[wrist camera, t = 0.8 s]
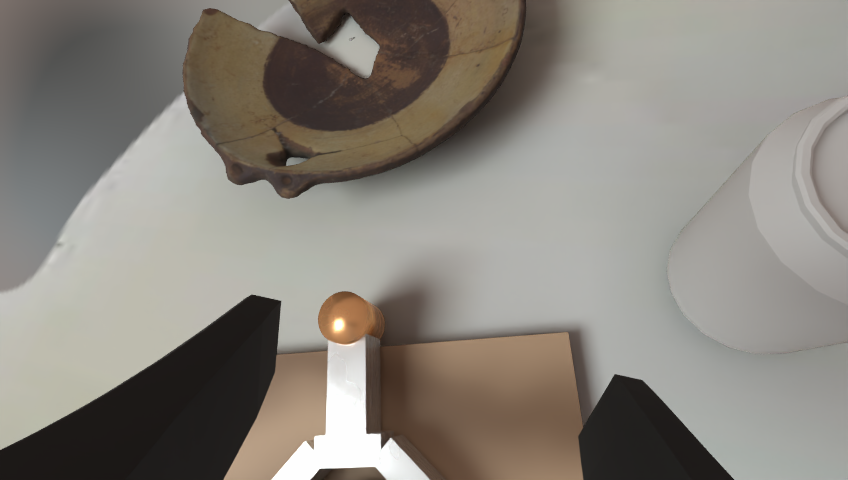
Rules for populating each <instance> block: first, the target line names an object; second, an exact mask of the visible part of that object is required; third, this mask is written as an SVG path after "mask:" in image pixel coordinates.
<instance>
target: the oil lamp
mask: <svg viewBox="0 0 848 480" xmlns="http://www.w3.org/2000/svg"><path fill="white" fill-rule="evenodd" d="M289 1H290V3H291V4H292V6H293V8H294V9H295V11H296V12H297V13H298V14H299V15H300V17H301V19H302V21H303V23H304V24H305V26H306V28H307V30H308V31H309V32H310V33H311V35H312V36H313V38H314V39H315V40H316V41H317V43H318V44H320V43H322V42H325V41H326V40H327V38H328V37H329V36H330V35H331V34H333V33H334V30H335V29H336V28H337V27H338V26H339V25H340V23H341V18H342V16H343V14H345V13H349V14H350V15H351V16H352V17H353V19H354V20H355V21H356V23H357V24H359V25H360V27H361V28H362V29H363V31H364V32H365V34H367V35H369V36H370V37H371V39H372V38H373V39H374V40H375V41H376V42H377V43H378V44H379V46H380V49H379V51H378V54H377V56H376V60H375V61H374V66H373V70H372V73H371V76H370V77H369V78H367V79H364V78H360V77H359V76H356V75H355V74H353V73H352V72H351V71H350V69H348V68H346V67H344V66H342V64H339V63H337V62H336V61H335V60H334V59H333V58H330V57H328V56H326V55H324V54H323V53H321V52H319V51H317V50H316V49H313V48H309V47H308V46H307V45H303V44H301V43H298V42H295V41H293V40H290V39H288V38H284V37H281V36H277V35H275V34H273V33H271V32H266V31H261V30H258V29H257V28H255V27H254V26H252V25H251V24H248V23H245V22H242V21H238V20H237V19H235V18H232V17H231V16H229V15H227V14H225V13H223V12H221V11H219V10H217V9H211V8H209V9H205V10H203V12H202V15H201V17H200V20H199V22H198V23H197V25H196V26H195V27H194V28H193V33H192V34H191V36H190V38H189V42H188V48H187V49H188V50H187V53H186V57H185V61H184V63H183V82H184V93H185V96H186V99H187V104H188V108H189V110H190V112H191V113H190V114H191V115H192V117H193V119H194V121H195V123H196V125H197V126H198V128H199V129H200V130H201V134H202V136H203V137H204V138H205V139H206V140H207V141H208V143H209V144H210V145H211V146H212V147H213V148H214V149H215V151H216V152H217V153H218V154H219V155H220V156H221V158H222V160H223V162H224V164H225V166H226V173H227V177H228V179H229V180H230V181H231V182H233V183H235V184H237V185H244V184H247V183H253V182H256V181H258V180H267V181H269V182H270V183H271V184H272V185H273V187H274V189H275V190H276V192H277V193H278V194H279V195H280V196H281V197H283V198H286V199H287V198H288V199H290V198H294V197H297V196H299V195H300V194H301V193H303V192H305V191H307V190H308V189H310V188H311V187H313V186H315V185H317V184H322V183H334V182H343V181H349V180H355V179H360V178H363V177H367V176H371V175H375V174H379V173H382V172H385V171H388V170H391V169H393V168H396V167H398V166H401V165H403V164H405V163H408V162H410V161H411V160H414V159H416V158H418V157H420V156H421V155H423V154H425V153H426V152H428V151H430V150H432V149H433V148H435V147H436V146H438V145H439V144H441V143H442V142H444V141H445V140H447V139H448V138H450V137H451V136H452V135H454V134H455V133H456V132H458V131H459V130H460V129H461V128H462V127H463V126H465V125H466V124H467V123H468V122H469V121H470V120H471V119H472V118H473V117H474V116H475V115H476V114H477V113H479V111H480V110H481V109H482V108H483V107H484V106H485V105H486V104H487V103H488V102H489V100H490V99H491V98H492V97H493V96H494V94H495V93H496V91H497V89H498V88H499V87H500V86H501V84H502V82H503V81H504V78H505V77H506V75H507V73H508V71H509V69H510V68H511V65H512V63H513V61H514V59H515V57H516V54H517V52H518V49H519V47H520V44H521V40H522V36H523V31H524V25H525V17H526V0H289ZM354 38H355V37H354ZM352 39H353V38H351V39H349V41H351V40H352ZM290 157H300V158H307V159H308V160H307V161H305V162H302V163H300V164H296V165H291V166H286V162H287V159H288V158H290Z"/></svg>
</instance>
